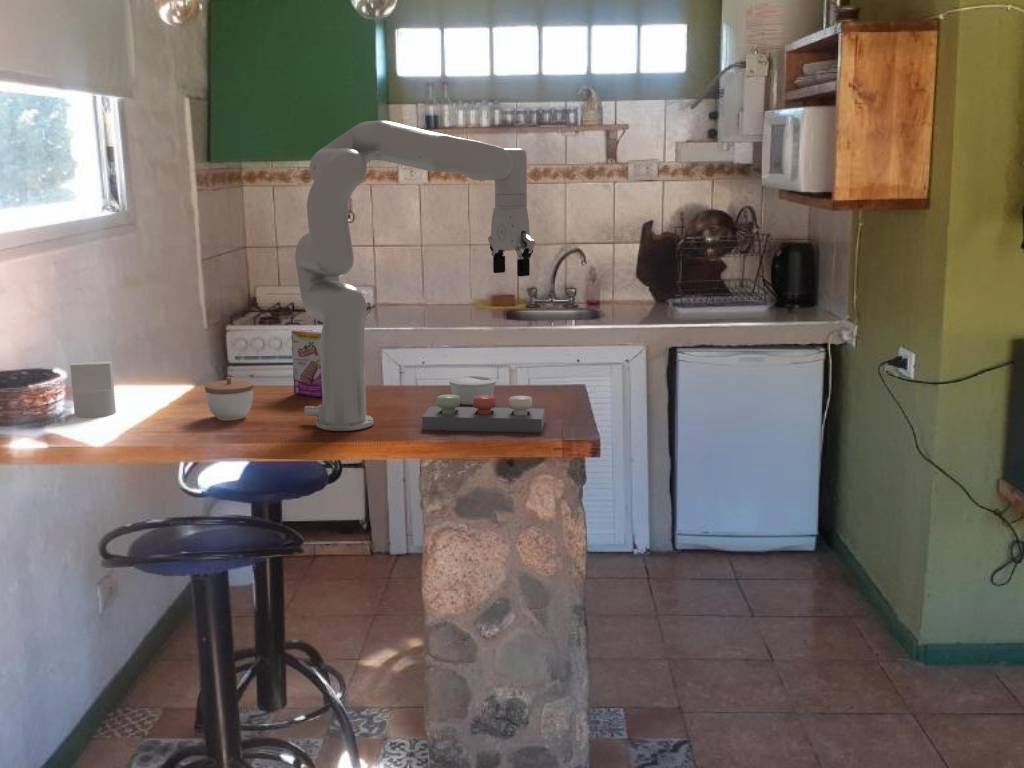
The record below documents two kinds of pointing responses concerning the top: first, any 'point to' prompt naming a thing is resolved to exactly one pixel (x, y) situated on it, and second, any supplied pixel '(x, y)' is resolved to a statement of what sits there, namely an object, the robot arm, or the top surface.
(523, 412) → the button cream
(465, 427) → the button panel
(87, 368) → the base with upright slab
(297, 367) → the candy bar box
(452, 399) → the button sage
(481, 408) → the button red
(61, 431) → the top surface
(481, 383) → the ramekin
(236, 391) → the lidded jar
